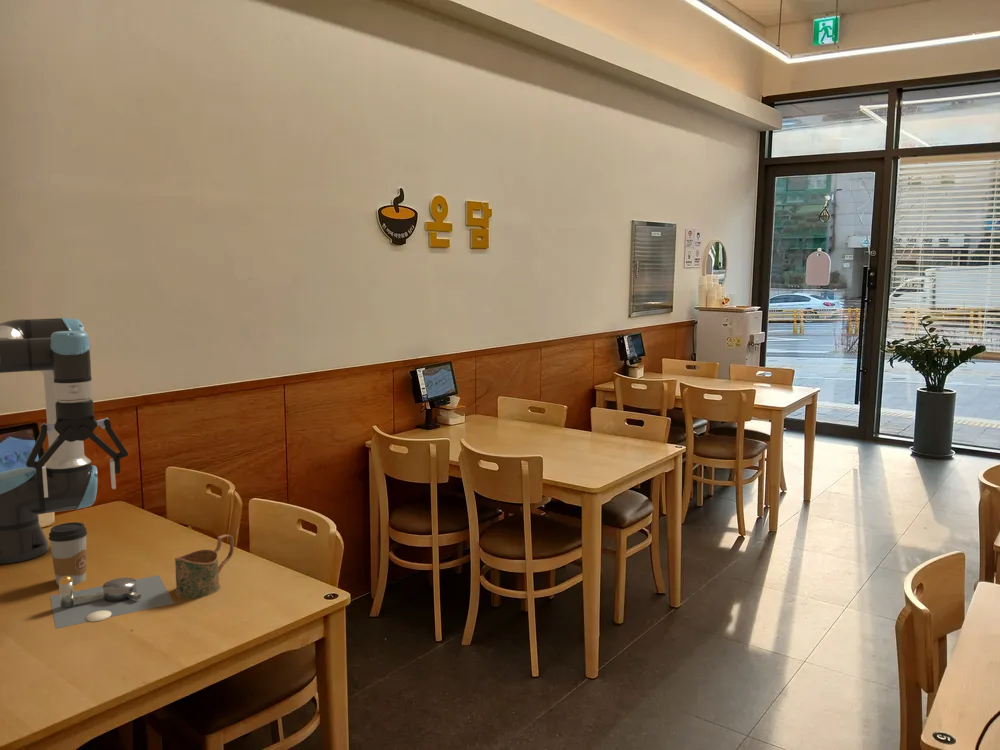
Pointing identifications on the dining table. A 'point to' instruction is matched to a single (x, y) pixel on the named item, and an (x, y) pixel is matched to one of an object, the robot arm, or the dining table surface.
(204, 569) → the mug
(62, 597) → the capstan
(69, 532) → the coffee cup
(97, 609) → the stand plate
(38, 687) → the dining table surface
